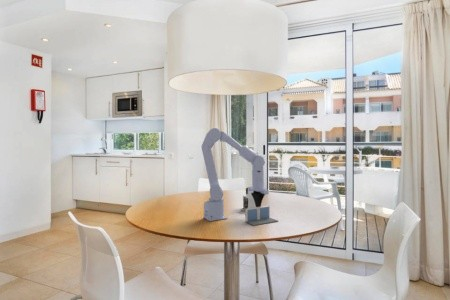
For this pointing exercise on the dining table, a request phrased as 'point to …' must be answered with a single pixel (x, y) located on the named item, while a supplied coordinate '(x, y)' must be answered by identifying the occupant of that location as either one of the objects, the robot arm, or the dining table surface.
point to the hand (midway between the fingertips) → (258, 206)
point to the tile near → (251, 214)
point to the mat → (261, 221)
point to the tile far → (263, 212)
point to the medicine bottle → (248, 200)
